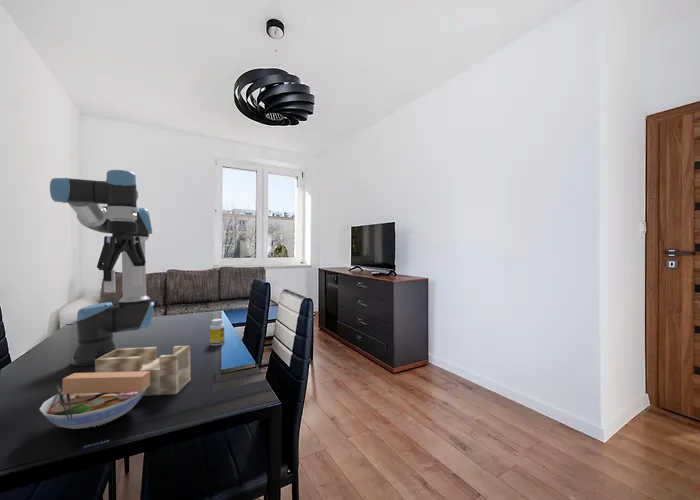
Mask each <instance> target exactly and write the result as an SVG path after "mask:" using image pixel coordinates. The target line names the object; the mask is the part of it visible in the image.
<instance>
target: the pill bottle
mask: <svg viewBox="0 0 700 500" xmlns="http://www.w3.org/2000/svg"><path fill="white" fill-rule="evenodd" d="M225 342H226V341H225V325H224V324H223V319H221V318H214V319H211V325H210V326H209V344H210V345H211V346H222V345H223V344H225Z"/></svg>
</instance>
